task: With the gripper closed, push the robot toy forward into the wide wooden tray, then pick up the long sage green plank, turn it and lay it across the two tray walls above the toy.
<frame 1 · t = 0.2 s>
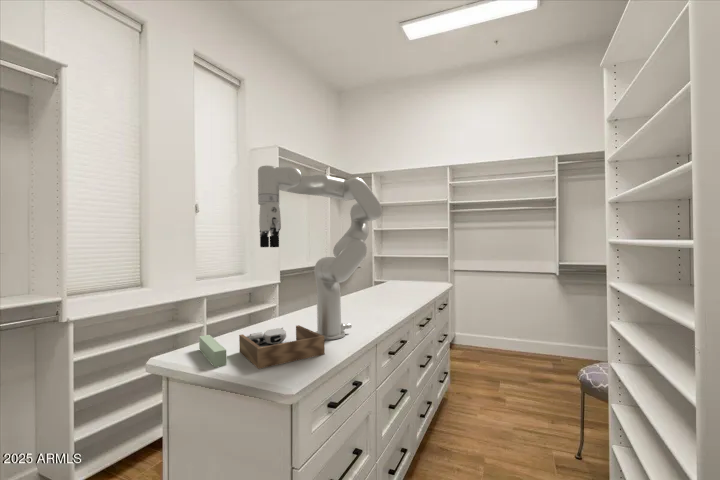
hand: (269, 247, 128), 36 cm above the table, tool pointing down, fingers open, 9 cm apart
sage green plank: (212, 357, 117), on the table
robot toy: (266, 344, 132), on the table
wooden tray: (280, 352, 120), on the table
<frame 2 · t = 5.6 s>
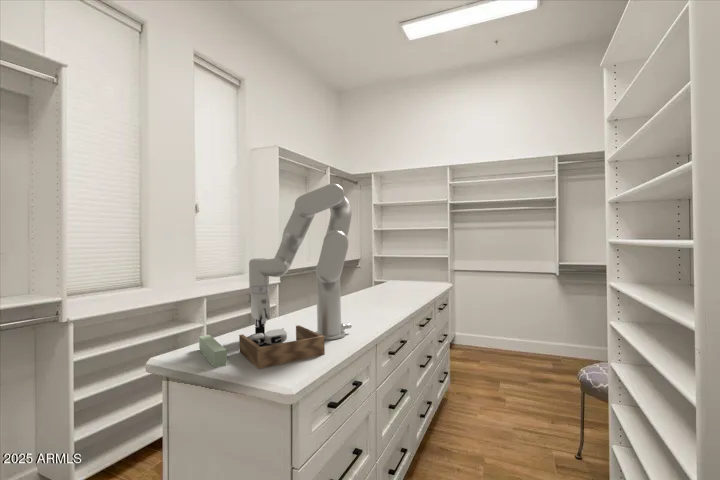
hand: (260, 336, 137), 1 cm above the table, tool pointing down, fingers closed
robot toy: (266, 345, 130), on the table, touching gripper
everything else where it was.
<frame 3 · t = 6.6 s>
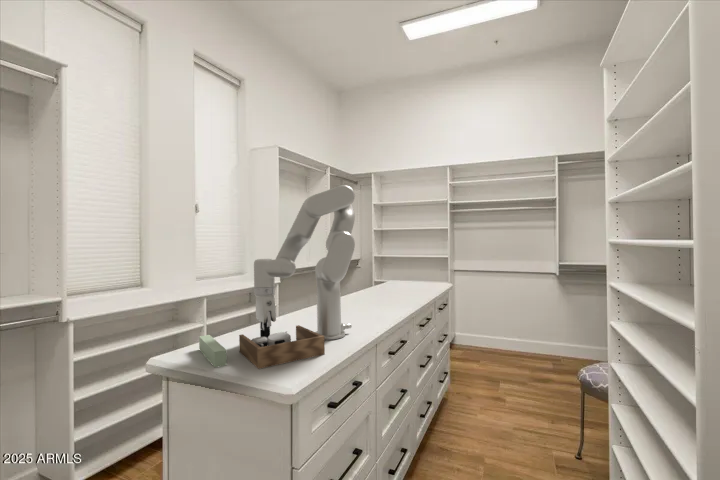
hand: (265, 339, 132), 1 cm above the table, tool pointing down, fingers closed
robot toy: (269, 349, 125), on the table, touching gripper
everything else where it was.
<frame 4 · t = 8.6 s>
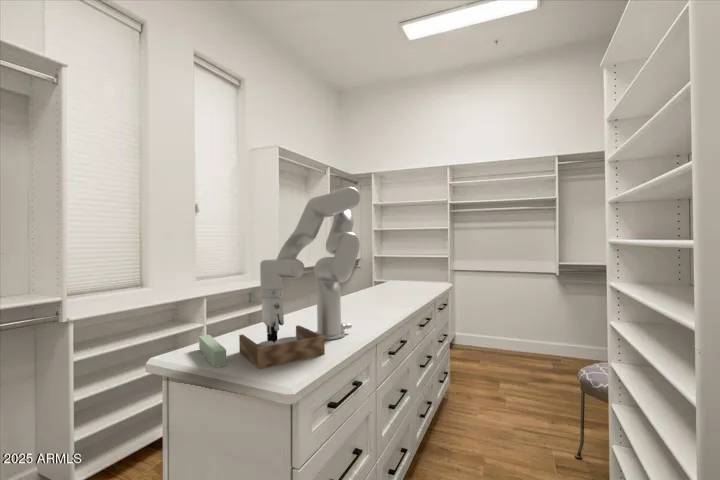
hand: (272, 344, 126), 1 cm above the table, tool pointing down, fingers closed
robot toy: (276, 354, 119), on the table
everything else where it was.
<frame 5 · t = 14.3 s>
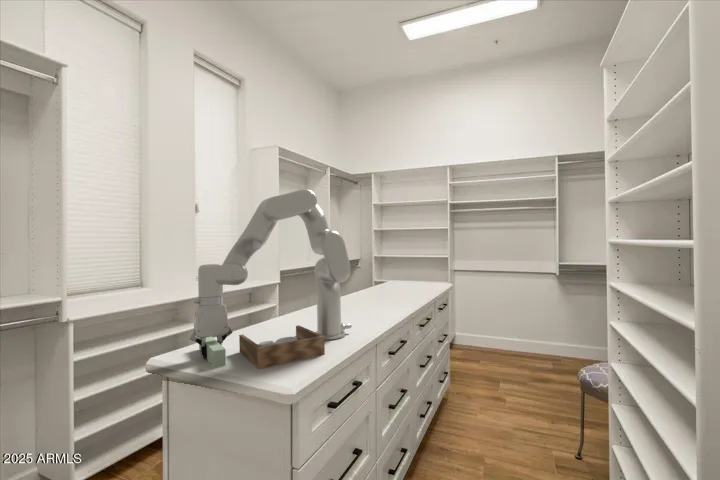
hand: (211, 355, 117), 0 cm above the table, tool pointing down, fingers closed on sage green plank, 3 cm apart
sage green plank: (211, 356, 117), on the table, touching gripper
everything else where it was.
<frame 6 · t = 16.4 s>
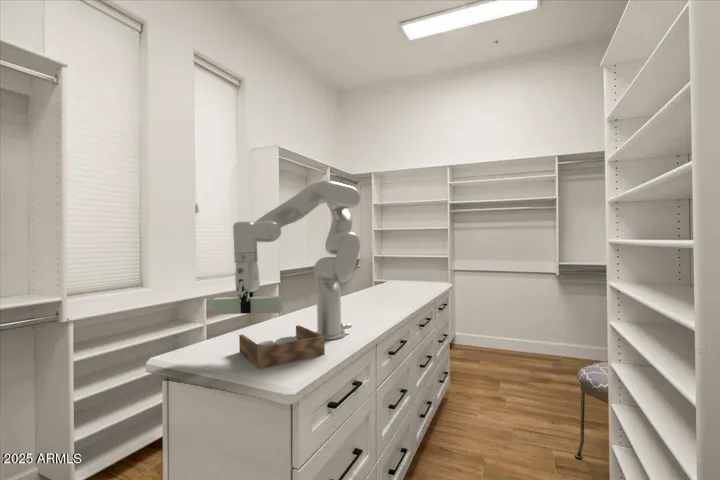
hand: (248, 311, 119), 15 cm above the table, tool pointing down, fingers closed on sage green plank, 3 cm apart
sage green plank: (248, 312, 119), point 14 cm above the table, touching gripper
everything else where it was.
when the fingers open (8 cm above the table, at t = 18.8 s): sage green plank drops 1 cm, resting on wooden tray.
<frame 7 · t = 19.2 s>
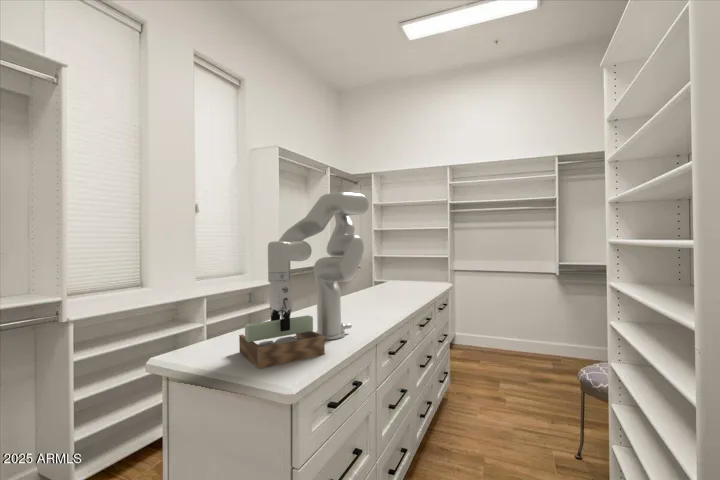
hand: (280, 328, 120), 8 cm above the table, tool pointing down, fingers open, 8 cm apart
sage green plank: (280, 335, 120), point 6 cm above the table, touching wooden tray
everything else where it was.
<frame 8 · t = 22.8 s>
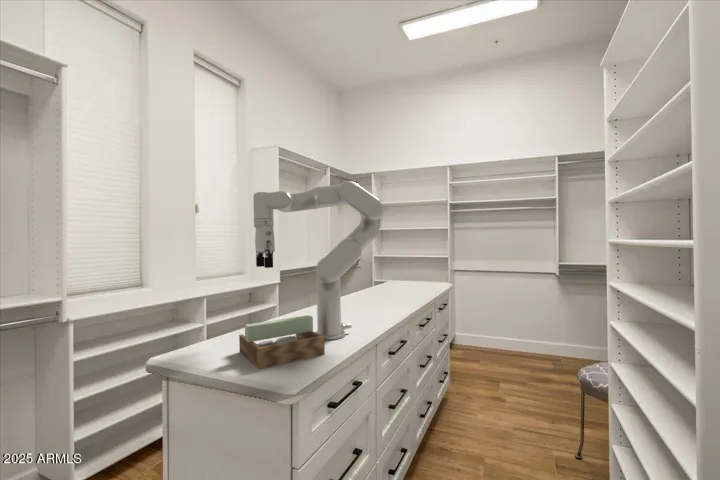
hand: (264, 267, 138), 28 cm above the table, tool pointing down, fingers open, 9 cm apart
nothing on the table moved.
at the end: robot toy inside the target area on the wooden tray (1.1 cm from its centre), point 0.0 cm above the wooden tray's base; sage green plank inside the target area on the wooden tray (0.0 cm from its centre), point 6.0 cm above the wooden tray's base; the gripper is holding nothing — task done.
